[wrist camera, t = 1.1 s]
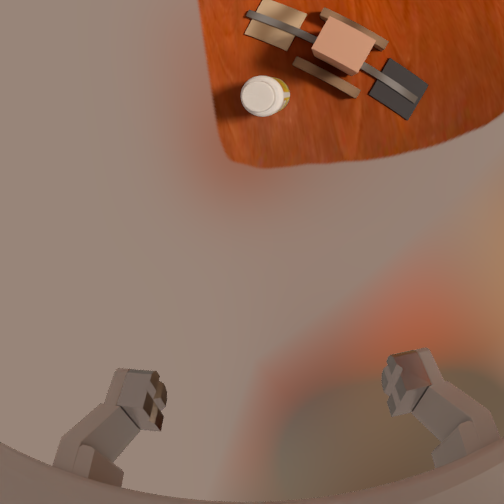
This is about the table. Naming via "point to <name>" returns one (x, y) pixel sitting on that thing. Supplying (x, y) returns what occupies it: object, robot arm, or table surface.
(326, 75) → the track
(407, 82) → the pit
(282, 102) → the supplement bottle
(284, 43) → the mat
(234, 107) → the table surface
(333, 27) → the block
